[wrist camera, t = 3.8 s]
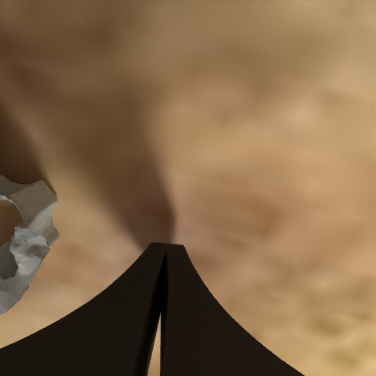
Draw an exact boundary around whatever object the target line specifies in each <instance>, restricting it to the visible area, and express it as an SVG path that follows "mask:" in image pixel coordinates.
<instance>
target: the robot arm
mask: <svg viewBox="0 0 376 376" xmlns="http://www.w3.org/2000/svg"><path fill="white" fill-rule="evenodd" d="M160 314H161V346H160V376H304V375H303V374H302V373H300V372H299V371H297V370H296V369H294V368H293V367H291V366H290V365H288V364H287V363H286V362H284V361H283V360H281V359H280V358H279V357H277V356H276V355H275V354H273V353H272V352H271V351H270V350H268V349H267V348H266V347H265V346H263V345H262V344H261V343H260V342H258V341H257V340H256V339H255V338H254V337H252V336H251V335H250V334H249V333H248V332H247V331H246V330H245V329H244V328H243V327H241V326H240V325H239V324H238V323H237V322H236V321H235V320H234V319H233V318H232V317H231V316H230V315H229V314H228V313H227V312H226V311H225V309H224V308H223V307H222V306H221V305H220V304H219V303H218V301H217V300H216V299H215V298H214V296H213V295H212V294H211V292H210V291H209V289H208V288H207V287H206V285H205V284H204V282H203V281H202V279H201V278H200V276H199V274H198V273H197V271H196V269H195V268H194V266H193V264H192V262H191V260H190V258H189V256H188V254H187V251H186V248H185V247H184V246H183V245H178V244H166V243H155V242H152V243H150V244H149V245H148V247H147V248H146V249H145V251H144V252H143V253H142V254H141V255H140V256H139V258H138V259H137V260H136V261H135V262H134V263H133V264H132V265H131V266H130V267H129V268H128V269H127V270H126V271H125V272H124V273H123V274H122V275H121V276H120V277H119V278H118V279H116V280H115V281H114V282H113V283H112V284H111V285H110V286H108V287H107V288H106V289H105V290H104V291H102V292H101V293H100V294H98V295H97V296H96V297H94V298H93V299H92V300H90V301H89V302H87V303H86V304H84V305H83V306H81V307H79V308H78V309H76V310H75V311H73V312H71V313H70V314H68V315H67V316H65V317H63V318H61V319H60V320H58V321H56V322H54V323H52V324H51V325H49V326H47V327H45V328H43V329H41V330H39V331H37V332H35V333H33V334H31V335H29V336H27V337H25V338H23V339H21V340H19V341H17V342H14V343H12V344H10V345H8V346H5V347H3V348H1V349H0V376H147V375H148V369H149V365H150V360H151V355H152V351H153V346H154V342H155V337H156V332H157V328H158V323H159V318H160Z"/></svg>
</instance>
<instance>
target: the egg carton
mask: <svg viewBox="0 0 376 376" xmlns="http://www.w3.org/2000/svg"><path fill="white" fill-rule="evenodd" d="M0 200H8V201H10V202H12V203H13V204H14V205H15V206H16V207H17V209H18V210H19V211H20V213H21V216H22V219H23V221H22V222H20V223H19V224H18V225H17V226H16V227H14V228H15V232H14V235H13V236H12V237H11V240H10V241H8V242H6V243H4V244H3V245H2V246H0V315H1V314H3V313H5V312H6V311H8V310H9V309H10V308H11V307H12V306H13V305H15V304H16V303H17V302H18V301H19V300H20V299H21V297H22V296H23V294H24V293H25V292H26V290H27V289H28V287H29V285H30V283H31V281H32V279H33V277H34V276H35V274H36V272H37V270H38V268H39V266H40V264H41V262H42V260H43V259H44V257H45V256H46V255H47V253H48V252H49V251H50V248H49V247H50V246H51V245H52V244H53V243H54V242H55V241H56V240H57V239H59V234H58V232H57V231H56V229H55V228H54V225H53V222H52V212H53V208H54V207H55V205H56V203H57V197H56V195H55V194H54V193H53V192H52V190H51V189H50V188H49V187H48V185H47V184H46V183H45V182H44V181H42V180H40V181H37V182H35V183H30V184H18V183H14V182H12V181H10V180H8V179H6V178H5V177H4V176H2V175H1V174H0Z"/></svg>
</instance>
